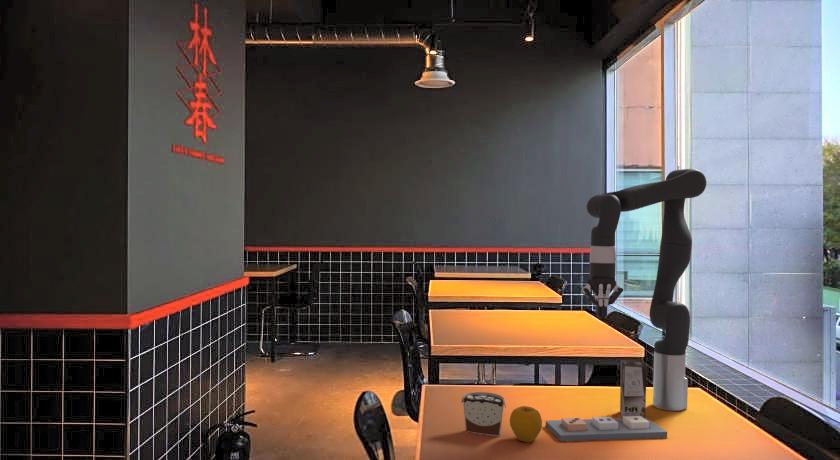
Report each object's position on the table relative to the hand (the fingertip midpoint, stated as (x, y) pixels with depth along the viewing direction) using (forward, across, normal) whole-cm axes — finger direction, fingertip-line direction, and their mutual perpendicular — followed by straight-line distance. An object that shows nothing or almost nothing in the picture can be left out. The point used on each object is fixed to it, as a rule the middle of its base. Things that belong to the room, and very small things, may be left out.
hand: (601, 318), depth 187 cm
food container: (+29, +38, +11) cm, 49 cm away
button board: (+29, +5, +15) cm, 33 cm away
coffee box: (+29, -9, +3) cm, 31 cm away
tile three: (+28, +14, +15) cm, 35 cm away
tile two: (+28, +5, +15) cm, 32 cm away
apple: (+29, +29, +19) cm, 45 cm away
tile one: (+28, -4, +15) cm, 32 cm away
